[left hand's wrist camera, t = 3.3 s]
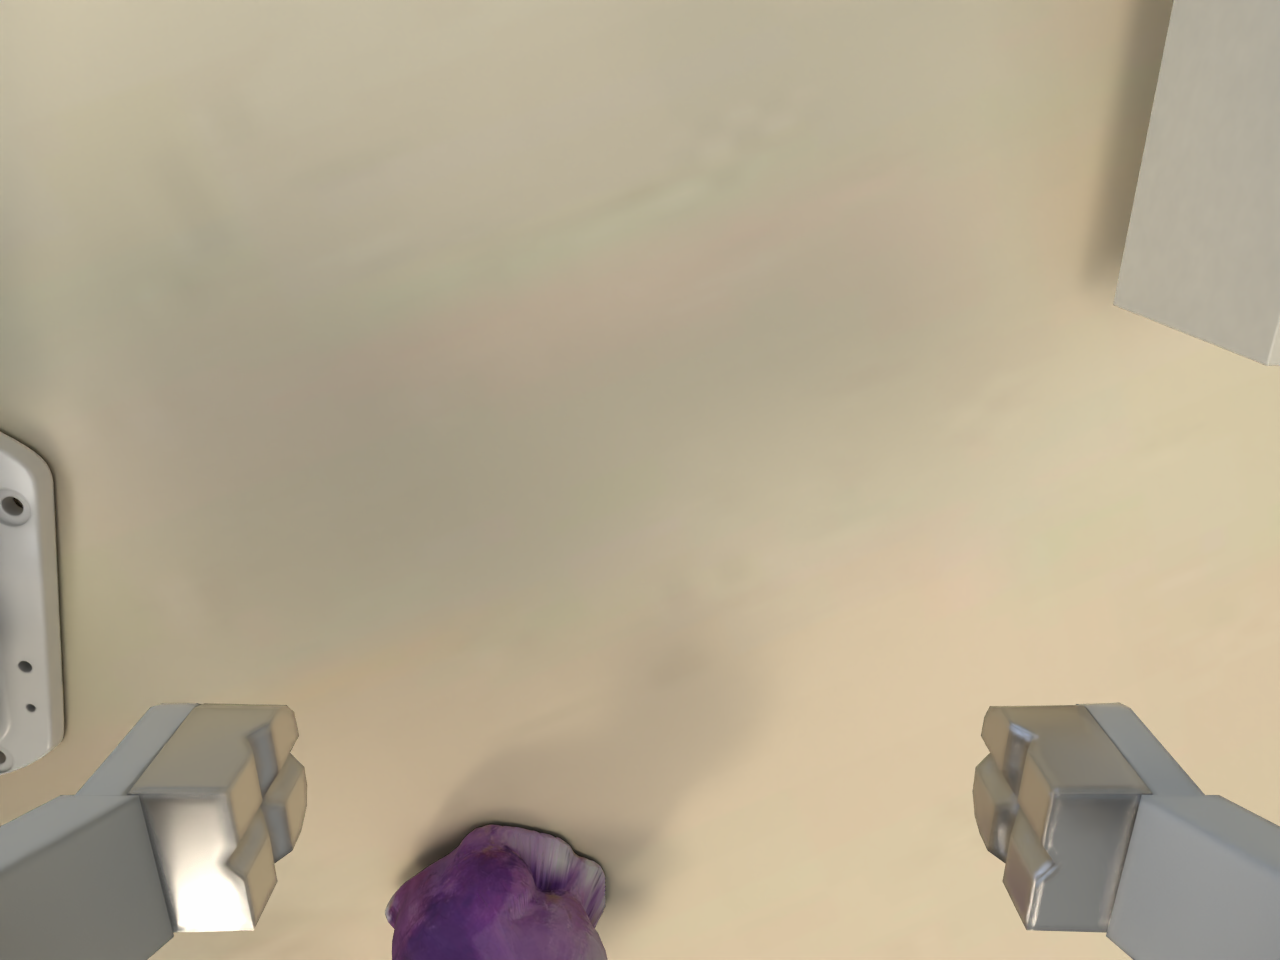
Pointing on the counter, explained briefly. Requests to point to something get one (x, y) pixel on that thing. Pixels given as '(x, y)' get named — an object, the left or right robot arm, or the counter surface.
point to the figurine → (501, 902)
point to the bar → (1212, 182)
